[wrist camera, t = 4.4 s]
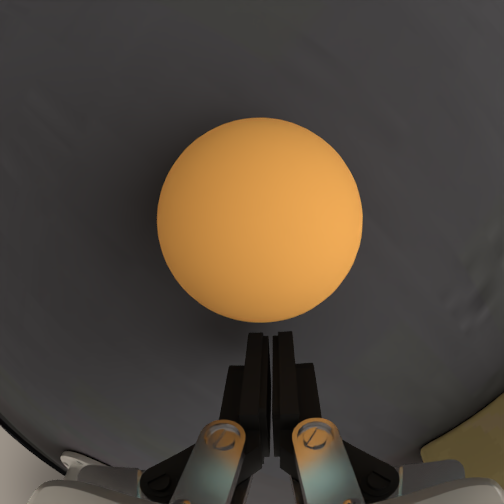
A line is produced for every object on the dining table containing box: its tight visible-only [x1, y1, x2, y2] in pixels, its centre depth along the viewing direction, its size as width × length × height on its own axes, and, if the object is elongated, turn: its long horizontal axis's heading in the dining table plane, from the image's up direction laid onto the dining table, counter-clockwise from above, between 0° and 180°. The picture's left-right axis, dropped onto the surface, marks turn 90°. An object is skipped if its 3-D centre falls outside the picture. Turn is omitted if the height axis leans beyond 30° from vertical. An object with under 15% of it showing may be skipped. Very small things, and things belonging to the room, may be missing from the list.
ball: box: [157, 118, 363, 322], centre depth 8 cm, size 6×6×6 cm
